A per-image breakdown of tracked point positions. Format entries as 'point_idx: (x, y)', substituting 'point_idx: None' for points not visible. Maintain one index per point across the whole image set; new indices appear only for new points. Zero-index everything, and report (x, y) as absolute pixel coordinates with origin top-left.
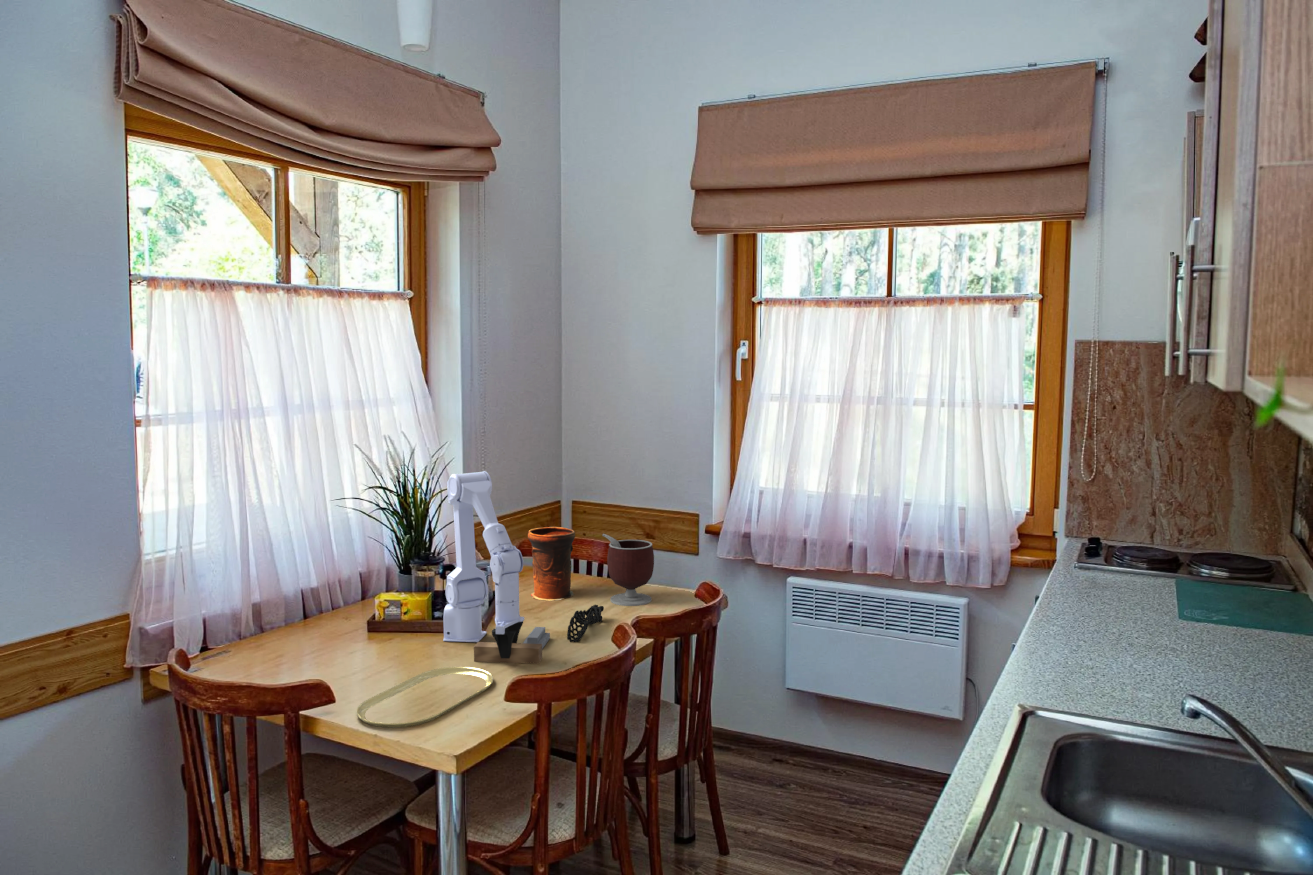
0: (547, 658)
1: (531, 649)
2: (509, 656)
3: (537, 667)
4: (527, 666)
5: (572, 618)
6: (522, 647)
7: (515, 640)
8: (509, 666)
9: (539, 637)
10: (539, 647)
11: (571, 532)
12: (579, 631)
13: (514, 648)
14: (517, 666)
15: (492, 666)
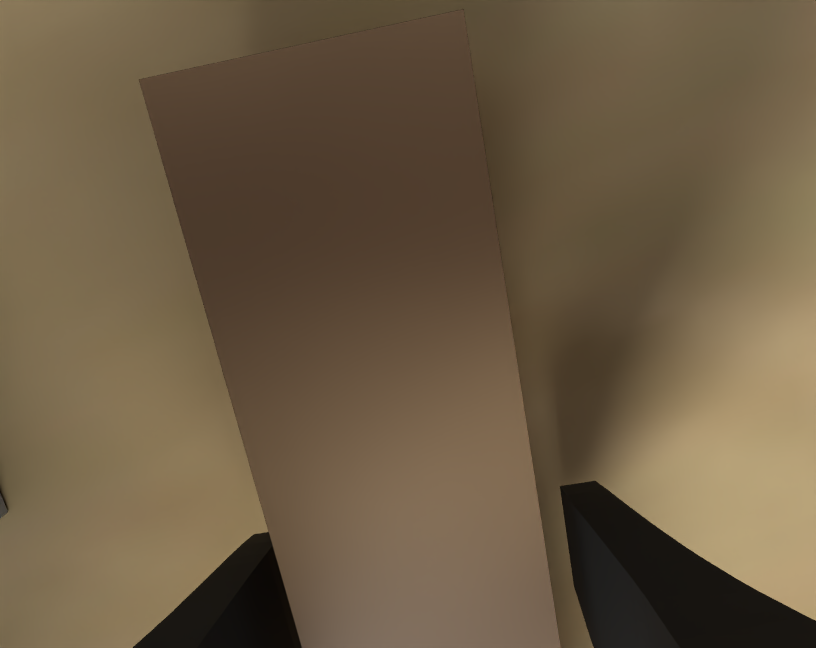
0: (208, 38)
1: (484, 185)
2: (603, 489)
3: (615, 18)
4: (603, 182)
5: None
6: (484, 384)
7: (223, 638)
8: (650, 405)
9: None
10: (382, 28)
11: None
12: None
13: (536, 506)
14: (630, 312)
15: None
